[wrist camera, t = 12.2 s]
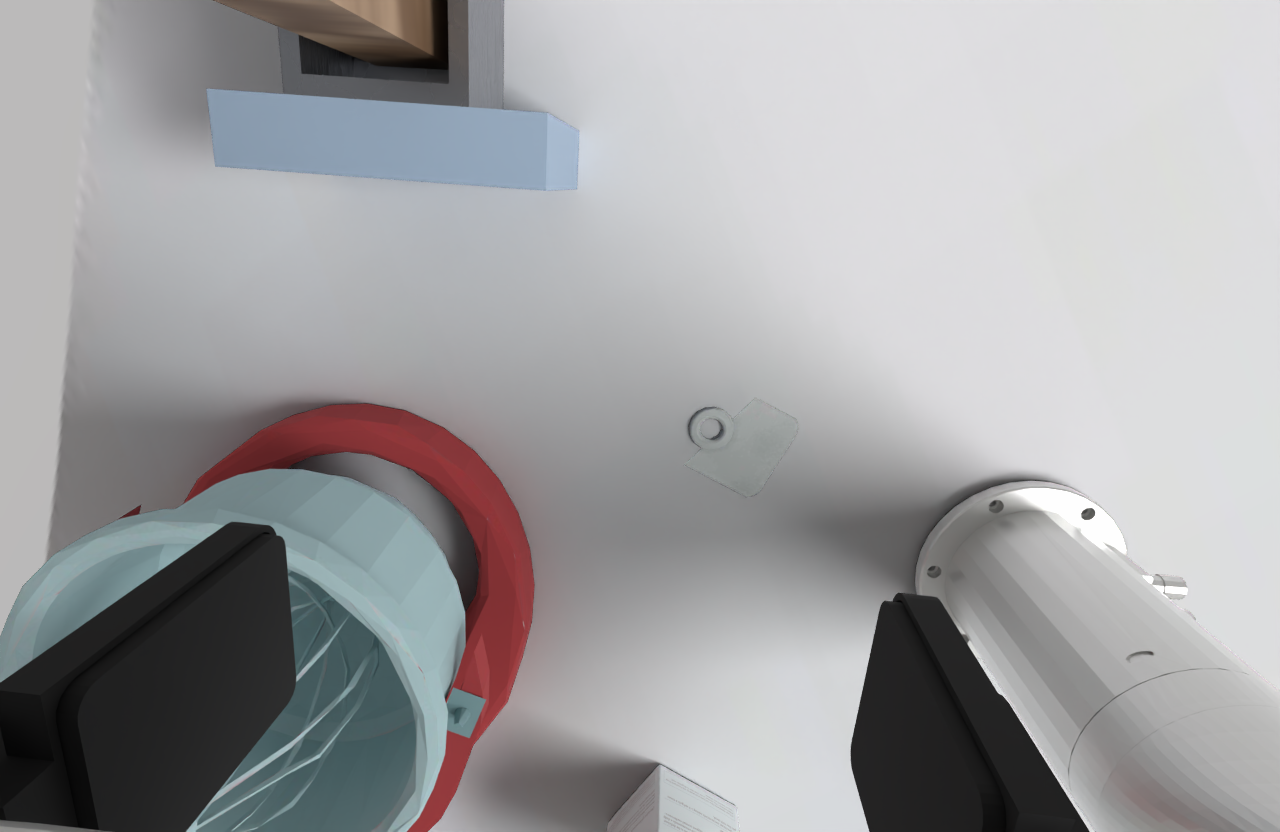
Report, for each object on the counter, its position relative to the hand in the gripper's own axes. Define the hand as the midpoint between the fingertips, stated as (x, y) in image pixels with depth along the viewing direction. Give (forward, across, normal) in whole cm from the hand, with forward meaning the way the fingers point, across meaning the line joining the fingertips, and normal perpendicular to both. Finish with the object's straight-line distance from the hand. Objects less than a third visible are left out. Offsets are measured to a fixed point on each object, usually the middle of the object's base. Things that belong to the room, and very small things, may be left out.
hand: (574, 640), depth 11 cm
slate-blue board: (+31, +12, -8) cm, 34 cm away
